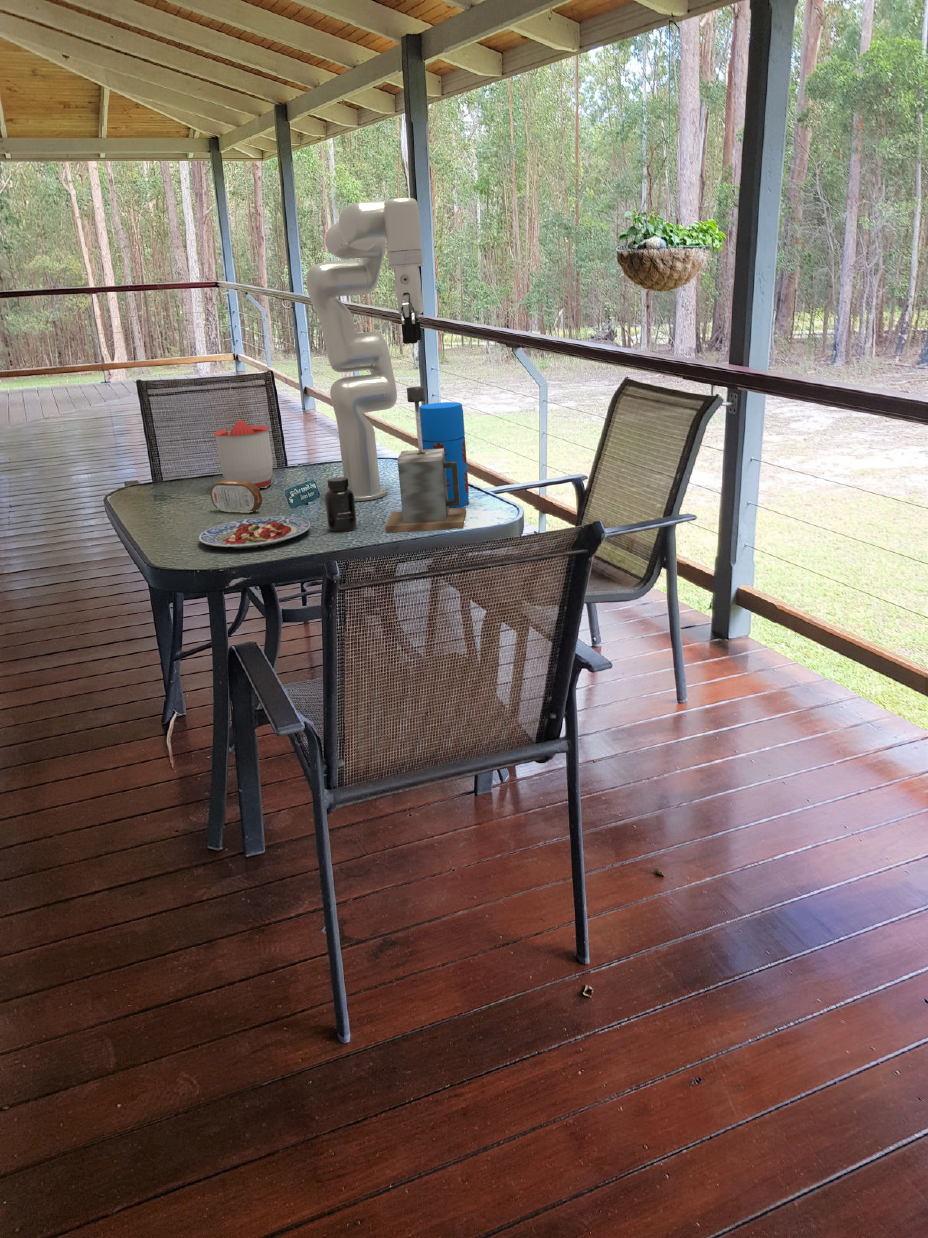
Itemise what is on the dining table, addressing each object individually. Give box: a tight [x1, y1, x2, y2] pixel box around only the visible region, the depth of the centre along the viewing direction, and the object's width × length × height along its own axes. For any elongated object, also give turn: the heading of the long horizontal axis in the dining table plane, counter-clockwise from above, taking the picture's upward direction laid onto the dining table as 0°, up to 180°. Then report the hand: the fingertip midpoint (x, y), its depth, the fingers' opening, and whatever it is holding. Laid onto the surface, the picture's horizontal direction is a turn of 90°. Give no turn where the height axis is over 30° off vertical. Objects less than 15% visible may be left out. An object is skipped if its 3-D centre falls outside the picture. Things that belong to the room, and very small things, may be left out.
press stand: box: [384, 448, 467, 534], centre depth 226 cm, size 18×14×16 cm
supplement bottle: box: [324, 476, 358, 533], centre depth 227 cm, size 7×7×12 cm
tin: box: [209, 479, 263, 512], centre depth 252 cm, size 15×3×8 cm, turn 65°
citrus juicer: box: [213, 419, 274, 488], centre depth 280 cm, size 16×17×20 cm
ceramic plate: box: [198, 515, 311, 548], centre depth 226 cm, size 26×26×3 cm
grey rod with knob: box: [406, 386, 426, 455], centre depth 221 cm, size 4×4×20 cm
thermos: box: [419, 401, 470, 509], centre depth 240 cm, size 11×11×25 cm
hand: (412, 341), depth 215 cm, fingers open, 9 cm apart
